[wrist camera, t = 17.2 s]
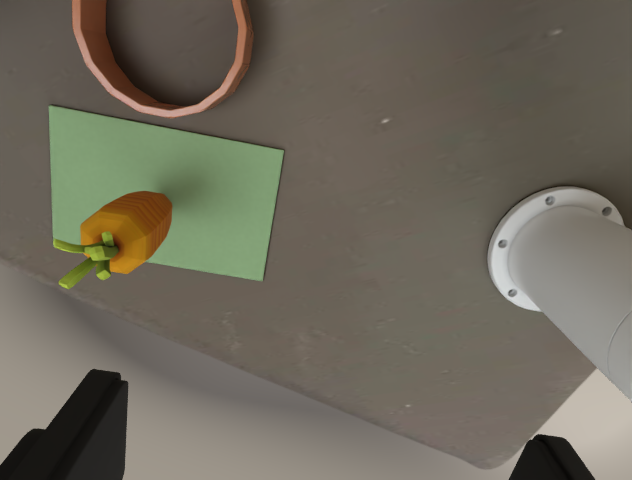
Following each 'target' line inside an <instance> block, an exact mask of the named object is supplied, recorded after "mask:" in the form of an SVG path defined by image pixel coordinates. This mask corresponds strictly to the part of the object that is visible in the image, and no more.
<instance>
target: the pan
mask: <svg viewBox="0 0 632 480" xmlns="http://www.w3.org/2000/svg"><path fill="white" fill-rule="evenodd" d="M106 2H107V0H72V27H73V32H74V34H75V37H76V40H77V42H78V45H79V48H80V50H81V53H82V56H83V58H84V61H85V64H87V67H88V68H89V69H90V70H91V72H92V73H93V74H94V75H95V77H96V78H97V79H98V80H99V82H100V83H101V84H102V85H103V86H104V88H105V89H106V90H107V91H108V93H110V94H111V95H112V96H114V97H115V98H117V99H119V100H120V101H122V102H123V103H125V104H127V105H128V106H130V107H132V108H133V109H135V110H136V111H138V112H140V113H146V114H151V115H156V116H161V117H166V118H176V117H180V116H185V115H190V114H194V113H199V112H202V111H206V110H209V109H212V108H214V107H215V106H216V105H218V104H219V103H220V102H222V101H223V100H224V99H226V98H227V97H228V96H230V95H231V94H232V93H234V92H235V91H236V89H237V87H238V86H239V84H240V82H241V80H242V78H243V77H244V75H245V73H246V71H247V69H248V68H249V65H250V60H251V52H252V44H253V36H254V31H253V27H252V23H251V18H250V14H249V10H248V5H247V1H246V0H232V3H233V7H234V11H235V15H236V19H237V24H238V37H237V46H236V55H235V61H234V63H233V65H232V67H231V68H230V70H229V72H228V74H227V76H226V78H225V79H224V81H223V83H222V85H221V87H220V88H218V89H217V90H216V91H214V92H213V93H212V94H210V95H209V96H208V97H206V98H205V99H204V100H203V101H201V102H200V103H199V104H195V105H190V106H186V107H183V106H178V105H173V104H167V103H162V102H158V101H156V100H155V99H153V98H152V97H150V96H148V95H147V94H145V93H144V92H142V91H141V90H139V89H137V88H136V87H134V85H133V84H132V83H131V82H130V80H129V79H128V78H127V77H126V75H125V74H124V73H123V71H122V70H121V69H120V68H119V66H118V65H117V64H116V62H115V59H114V56H113V53H112V50H111V48H110V45H109V42H108V39H107V36H106Z"/></svg>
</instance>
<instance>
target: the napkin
mask: <svg viewBox="0 0 632 480" xmlns="http://www.w3.org/2000/svg"><path fill="white" fill-rule="evenodd" d="M49 128H50V159H51V190H52V222H53V241H54V239H58V240H61V241H64V242H67V243H71V244H76V245H81V234H80V226H81V224H82V223H83V222H84V221H85V220H86V219H87V218H89V217H90V216H91V215H93V214H94V213H95V212H96V211H98V210H99V209H100V208H102V207H103V206H104V205H106V204H108V203H110V202H112V201H113V200H115V199H117V198H119V197H121V196H123V195H126V194H128V193H132V192H138V191H150V192H156V193H162V194H165V196H166V197H167V198H168V199H169V200H170V201H171V203H172V222H171V225H170V229H169V231H168V234H167V237H166V238H165V240H164V241H163V242H162V244H161V245H160V247H159V248H158V249H157V250H156V252H155V253H154V254H153V255H152V257H150V258H149V259H148V260H146V261H145V262H150V263H156V264H162V265H168V266H174V267H180V268H186V269H192V270H198V271H204V272H210V273H216V274H222V275H228V276H234V277H240V278H246V279H252V280H258V281H263V275H264V269H265V263H266V257H267V251H268V245H269V239H270V233H271V227H272V221H273V215H274V209H275V203H276V197H277V191H278V185H279V179H280V173H281V166H282V160H283V154H284V150H281V149H276V148H271V147H265V146H260V145H255V144H250V143H245V142H239V141H234V140H229V139H224V138H219V137H214V136H208V135H203V134H198V133H193V132H188V131H182V130H177V129H172V128H167V127H162V126H156V125H151V124H146V123H141V122H136V121H130V120H125V119H120V118H115V117H110V116H105V115H99V114H94V113H89V112H84V111H79V110H73V109H68V108H63V107H58V106H53V105H49ZM53 246H54V244H53Z"/></svg>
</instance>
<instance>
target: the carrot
mask: <svg viewBox="0 0 632 480" xmlns="http://www.w3.org/2000/svg"><path fill="white" fill-rule="evenodd" d="M171 222H172V203H171V201H170V200H169V199H168V198H167V197H166V196H165V194H162V193H156V192H150V191H138V192H132V193H128V194H126V195H123V196H121V197H119V198H117V199H115V200H113V201H112V202H110V203H108V204H106V205H104V206H103V207H102V208H100V209H99V210H98V211H96V212H95V213H94V214H93V215H91V216H90V217H89V218H87V219H86V220H85V221H84V222H83V223H82V224H81V226H80V234H81V245H76V244H71V243H67V242H64V241H61V240H58V239H54V241H53V244H54V247H55V248H58V249H60V250H63V251H67V252H73V253H84V254H85V255H86V256H87V257H88V259H87V260H85V261H84V262H82V263H81V264H80V265H78V266H77V267H75V268H74V269H73V270H71V271H70V272H69V273H68V274H66V275H65V276H64V277H63V278H62V279H61V280H60V281H59V285H61V286H62V287H64V288H66V289H70V288H71V287H73V286H74V285H75V284H76V283H77V282H78V281H80V280H81V279H82V278H83V277H84V276H85V275H86V274H87V273H88V272H89V271H90V270H91V269H92V268H94V267H95V266H97V267H96V275H97V276H98V277H99V278H100V279H101V280H104V279H107V278H108V277H109V276H111V272H117V273H124V274H127V273H130V272H131V271H133V270H134V269H135V268H137V267H138V266H139V265H141V264H142V263H144V262H145V261H146V260H148V259H149V258H150V257H152V255H153V254H154V253H155V252H156V250H157V249H158V248H159V247H160V245H161V244H162V242H163V241H164V240H165V238H166V237H167V234H168V231H169V229H170V225H171ZM110 271H111V272H110Z"/></svg>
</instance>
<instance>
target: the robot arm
mask: <svg viewBox="0 0 632 480" xmlns="http://www.w3.org/2000/svg"><path fill="white" fill-rule="evenodd" d="M546 198H547V199H546ZM500 240H501V241H500ZM499 241H500V242H499ZM487 265H488V269H489V274H490V277H491V279H492V281H493V283H494V285H495V286H496V287H497V289H498V290H499V291H500V292H501V293H502V294H503V295H504V297H505V298H506V299H508V300H509V301H511V302H512V303H514V304H516V305H517V306H520V307H523V308H525V309H529V310H535V311H542V312H543V313H544V314H545V315H546V316H547V317H548V318H549V319H550V320H551V321H552V322H553V323H554V324H555V325H556V326H557V327H558V328H559V329H560V330H561V331H562V332H563V333H564V334H565V335H566V336H567V337H568V338H569V339H570V340H571V341H572V343H573V344H574V345H575V346H576V347H577V348H578V349H579V350H580V351H581V352H582V353H583V354H584V355H585V356H586V357H587V358H588V359H589V360H590V361H591V362H592V363H593V364H594V365H595V366H596V367H597V368H598V369H599V370H600V371H601V372H602V373H603V374H604V375H605V376H606V377H607V378H608V379H609V380H610V381H611V382H612V383H613V384H614V385H615V386H616V387H617V388H618V389H619V390H620V391H621V392H622V393H623V394H624V395H625V396H626V397H627V398H628V399H629V400H630V401H631V402H632V230H631V229H629V228H626V227H625V226H624V223H623V220H622V217H621V215H620V213H619V212H618V210H617V209H616V207H615V206H614V205H613V204H612V203H611V202H610V201H609V200H608V199H606V198H604V197H603V196H601V195H599V194H597V193H595V192H592V191H590V190H587V189H584V188H579V187H574V186H564V187H555V188H550V189H546V190H543V191H540V192H537V193H535V194H533V195H531V196H529V197H527V198H526V199H524V200H522V201H521V202H519V203H518V204H517V205H516V206H514V207H513V208H512V209H511V210H510V211H509V212H508V213H507V214H506V215H505V216H504V217H503V219H502V220H501V221H500V223H499V224H498V226H497V228H496V229H495V231H494V233H493V236H492V238H491V240H490V244H489V248H488V253H487ZM127 403H128V382H127V381H123V380H121V375H120V373H117V372H110V371H103V370H96V369H92V370H91V371H90V372H89V373H88V374H87V375H86V376H85V378H84V379H83V380H82V382H81V383H80V384H79V386H78V387H77V388H76V390H75V391H74V392H73V394H72V395H71V396H70V398H69V399H68V400H67V402H66V403H65V404H64V406H63V407H62V408H61V410H60V411H59V412H58V414H57V415H56V416H55V418H54V419H53V420H52V422H51V423H50V424H49V426H48V427H47V428H46V430H44V429H32V430H31V431H29V432H28V433H27V434H26V435H25V436H24V437H23V438H22V439H21V440H20V441H19V443H18V444H17V445H16V447H15V448H14V449H13V451H11V453H10V454H9V455H8V457H7V458H6V459H5V460H4V461H3V463H2V464H1V465H0V480H122V478H123V475H124V470H125V449H126V427H127V426H126V425H127ZM509 480H595V479H594V477H593V476H592V474H591V473H590V471H589V470H588V469H587V467H586V466H585V464H584V463H583V462H582V460H581V459H580V457H579V456H578V454H577V453H576V452H575V450H574V449H573V448H572V446H571V445H570V443H569V442H568V441H567V440H566V439H564V438H562V437H555V436H548V435H542V434H540V435H539V434H538V435H536V436H535V437H534V438H533V439H532V440H529V441H528V442H527V443H526V445H525V448H524V450H523V452H522V454H521V456H520V458H519V460H518V462H517V464H516V466H515V468H514V470H513V472H512V474H511V476H510V478H509Z"/></svg>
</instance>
